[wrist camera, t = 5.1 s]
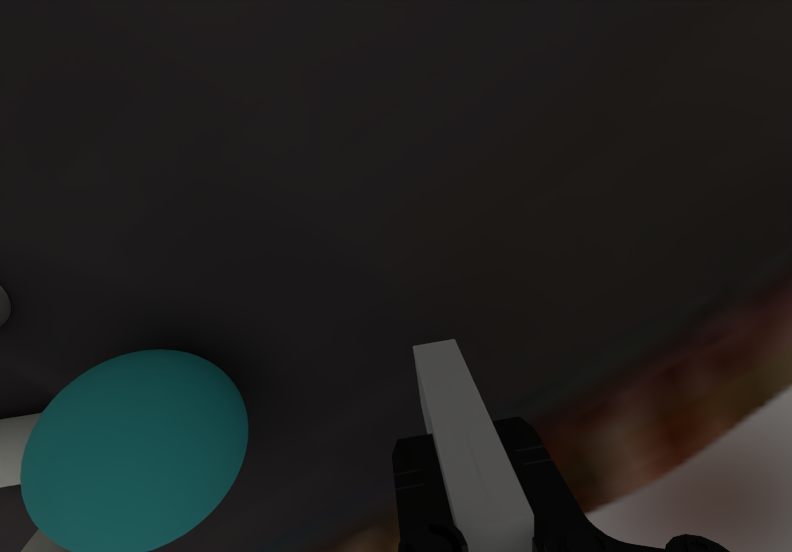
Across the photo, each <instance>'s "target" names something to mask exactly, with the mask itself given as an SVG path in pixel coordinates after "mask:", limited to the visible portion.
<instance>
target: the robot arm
mask: <svg viewBox="0 0 792 552" xmlns="http://www.w3.org/2000/svg"><path fill="white" fill-rule="evenodd" d="M413 351H414V358H415V365H416V372H417V379H418V386H419V393H420V400H421V407H422V411H423V416H424V420H425V425H426V429H427V433H428V434H426V435H420V436H415V437H409V438H404V439H398V440H397V443H396V446H395V449H394V451H393V454H392V461H393V471H394V480H395V489H396V500H397V509H398V519H399V529H400V539H401V541H400V543H399V548H398V552H730V551H728V550H727V549H725V548H724V547H722V546H721V545H719V544H718V543H716V542H713V541H711V540H708V539H706V538H704V537H702V536H695V535H688V534H684V535H680V536H676V537H673V538H672V539H671V540H670V541H669V542H668V543H667V544H666V547H665V549H661V548H654V547H648V546H641V545H635V544H629V543H625V542H622V541H618V540H616V539H614V538H612V537H610V536H607V535H606V534H604V533H603V532H602V531H600V530H599V529H598V528H596V527H595V526H594V525H593V524H592V523H591V522H590V521H589V520H588V519H587V517H586V516H585V515H584V513H583V512H582V510H581V509H580V507H579V505H578V503H577V502H576V500H575V498H574V496H573V495H572V493H571V491H570V490H569V488H568V486H567V484H566V483H565V481H564V479H563V477H562V476H561V474H560V472H559V471H558V469H557V467H556V465H555V464H554V462H553V461H552V460H551V457H550V455H549V453H548V452H547V450H546V448H544V446H543V443H542V441H541V440H540V438H539V436H538V434H537V433H536V431H535V429H534V428H533V427H532V426H530V425H529V424H528V423H527V422H525V421H524V420H523V419H522V418H520V417H514V418H509V419H503V420H497V421H491V419H490V417H489V414H488V412H487V410H486V408H485V405H484V403H483V401H482V399H481V397H480V394H479V392H478V390H477V388H476V385H475V383H474V381H473V379H472V377H471V374H470V372H469V370H468V368H467V366H466V363H465V361H464V359H463V357H462V354H461V352H460V350H459V348H458V346H457V343H456V341H455V339H451V340H446V341H440V342H434V343H428V344H422V345H417V346H413Z"/></svg>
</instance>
